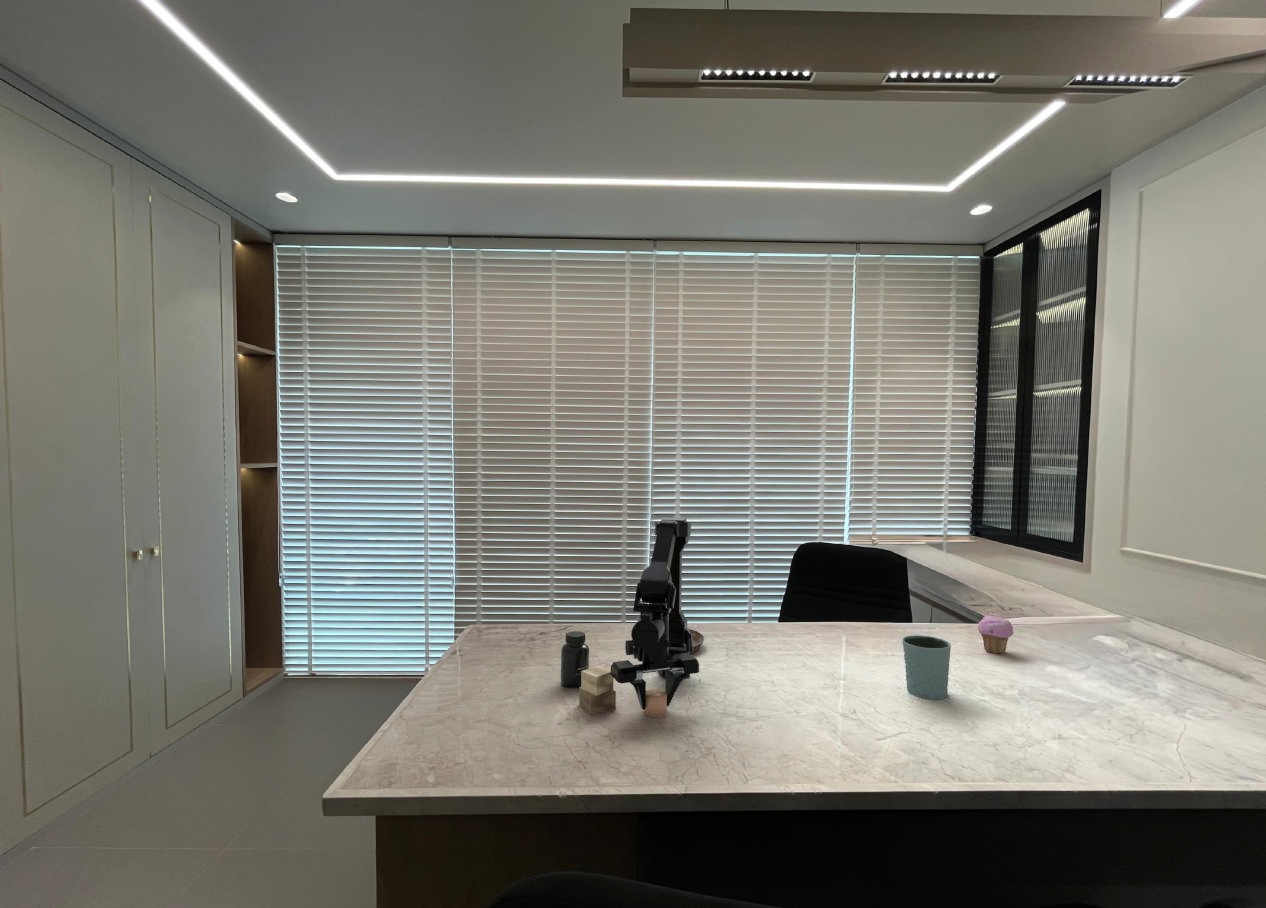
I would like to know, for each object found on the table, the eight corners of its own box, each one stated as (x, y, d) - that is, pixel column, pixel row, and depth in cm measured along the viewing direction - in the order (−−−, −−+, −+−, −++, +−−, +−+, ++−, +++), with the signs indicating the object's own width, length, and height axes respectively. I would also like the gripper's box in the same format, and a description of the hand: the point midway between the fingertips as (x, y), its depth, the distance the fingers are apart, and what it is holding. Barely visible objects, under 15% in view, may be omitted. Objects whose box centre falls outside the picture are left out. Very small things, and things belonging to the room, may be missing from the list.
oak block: (598, 683, 134) (598, 665, 134) (613, 689, 130) (613, 670, 130) (581, 689, 130) (581, 671, 130) (596, 695, 127) (596, 676, 127)
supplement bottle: (584, 689, 140) (584, 638, 140) (556, 687, 141) (557, 636, 141) (592, 678, 146) (592, 630, 147) (565, 676, 148) (566, 628, 148)
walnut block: (603, 699, 134) (603, 682, 134) (615, 709, 129) (615, 691, 129) (579, 705, 131) (579, 687, 131) (591, 715, 126) (591, 696, 126)
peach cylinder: (661, 706, 131) (661, 687, 131) (670, 715, 126) (670, 696, 126) (640, 709, 129) (640, 690, 129) (648, 718, 124) (648, 699, 124)
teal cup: (956, 692, 139) (956, 641, 139) (943, 705, 131) (943, 651, 131) (910, 681, 146) (910, 632, 146) (896, 692, 138) (896, 641, 138)
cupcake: (979, 644, 175) (979, 610, 175) (1014, 650, 170) (1014, 615, 170) (976, 652, 167) (976, 617, 168) (1012, 658, 162) (1012, 622, 162)
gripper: (678, 621, 138) (678, 687, 138) (602, 628, 132) (602, 698, 132) (700, 634, 128) (700, 706, 128) (619, 643, 121) (619, 719, 121)
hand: (655, 707), depth 127 cm, fingers open, 5 cm apart
